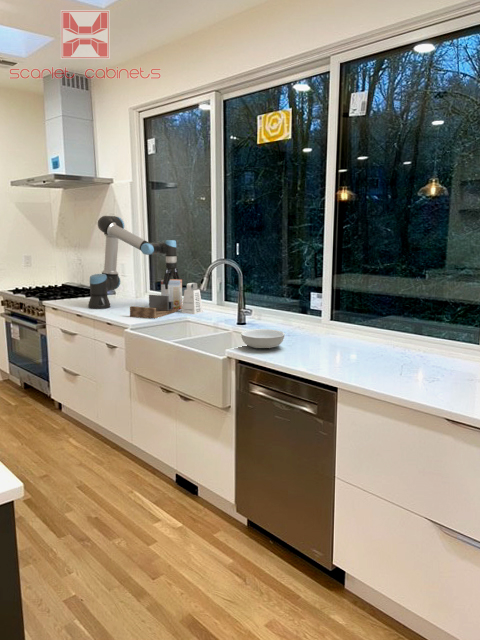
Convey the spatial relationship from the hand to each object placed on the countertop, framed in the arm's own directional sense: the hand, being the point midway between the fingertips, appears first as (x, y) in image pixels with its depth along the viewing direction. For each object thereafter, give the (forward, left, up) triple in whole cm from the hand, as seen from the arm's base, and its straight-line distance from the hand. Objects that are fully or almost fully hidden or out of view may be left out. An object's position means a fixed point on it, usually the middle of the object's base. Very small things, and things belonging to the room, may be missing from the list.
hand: (172, 292), depth 334 cm
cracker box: (0, 0, -12) cm, 12 cm away
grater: (+20, -8, -12) cm, 24 cm away
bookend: (0, -14, -10) cm, 17 cm away
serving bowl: (+94, -82, -12) cm, 126 cm away
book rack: (0, -24, -12) cm, 26 cm away
